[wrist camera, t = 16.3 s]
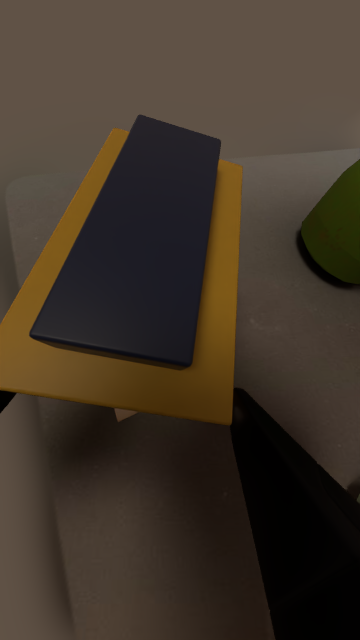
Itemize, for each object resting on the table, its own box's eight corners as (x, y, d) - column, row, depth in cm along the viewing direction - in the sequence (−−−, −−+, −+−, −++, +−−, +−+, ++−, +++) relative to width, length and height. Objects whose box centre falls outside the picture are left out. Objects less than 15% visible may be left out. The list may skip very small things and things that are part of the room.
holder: (169, 394, 13) (258, 439, 2) (110, 384, 13) (-108, 385, 2) (185, 302, 16) (256, 134, 5) (136, 292, 16) (107, 87, 5)
